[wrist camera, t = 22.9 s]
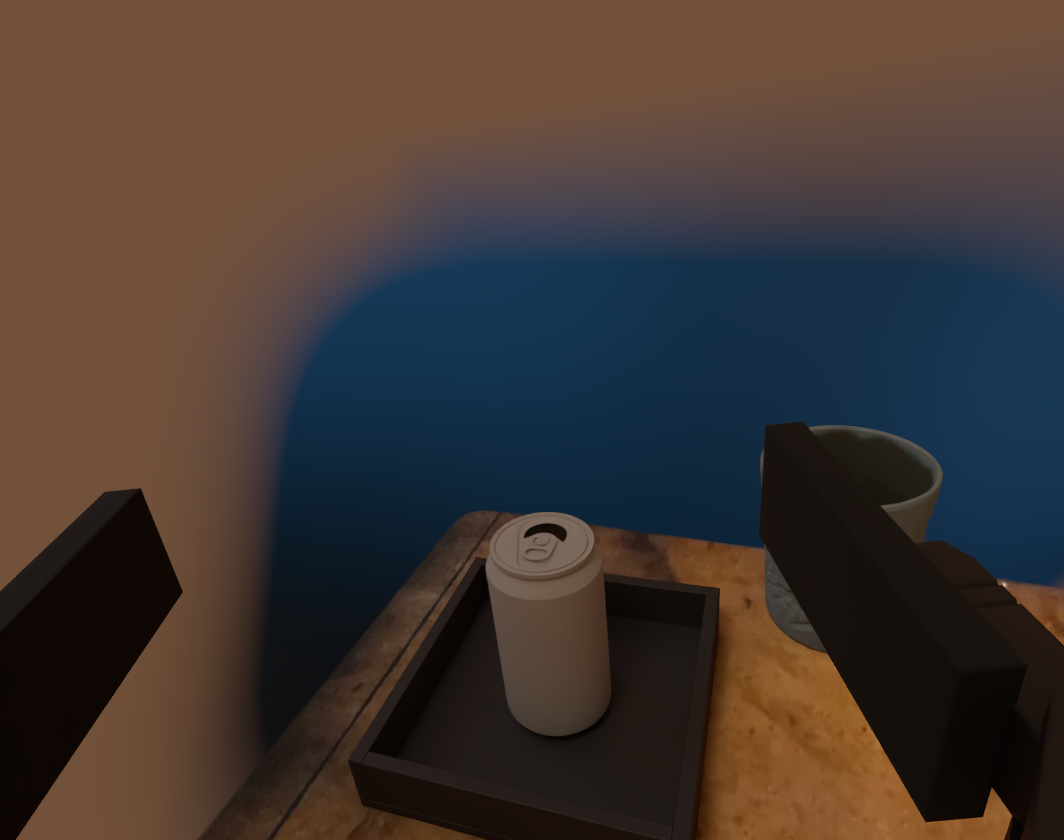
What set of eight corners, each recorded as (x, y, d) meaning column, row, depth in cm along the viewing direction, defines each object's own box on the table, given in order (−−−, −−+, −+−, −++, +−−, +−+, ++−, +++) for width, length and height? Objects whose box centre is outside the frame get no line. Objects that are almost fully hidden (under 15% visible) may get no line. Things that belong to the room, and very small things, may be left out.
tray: (361, 805, 37) (347, 760, 35) (482, 594, 51) (476, 556, 50) (689, 895, 31) (689, 846, 29) (718, 629, 46) (719, 587, 44)
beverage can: (620, 668, 43) (611, 510, 38) (600, 755, 37) (586, 584, 32) (525, 654, 45) (504, 502, 39) (493, 735, 39) (464, 571, 34)
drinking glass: (905, 578, 48) (931, 430, 43) (923, 683, 40) (957, 516, 35) (758, 557, 52) (766, 419, 47) (746, 650, 44) (754, 495, 39)
